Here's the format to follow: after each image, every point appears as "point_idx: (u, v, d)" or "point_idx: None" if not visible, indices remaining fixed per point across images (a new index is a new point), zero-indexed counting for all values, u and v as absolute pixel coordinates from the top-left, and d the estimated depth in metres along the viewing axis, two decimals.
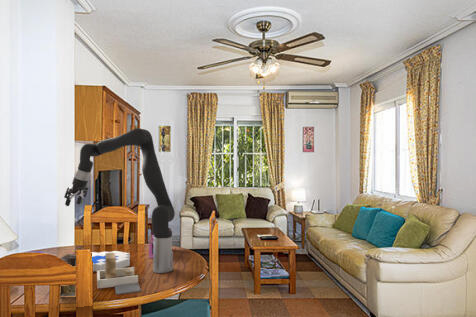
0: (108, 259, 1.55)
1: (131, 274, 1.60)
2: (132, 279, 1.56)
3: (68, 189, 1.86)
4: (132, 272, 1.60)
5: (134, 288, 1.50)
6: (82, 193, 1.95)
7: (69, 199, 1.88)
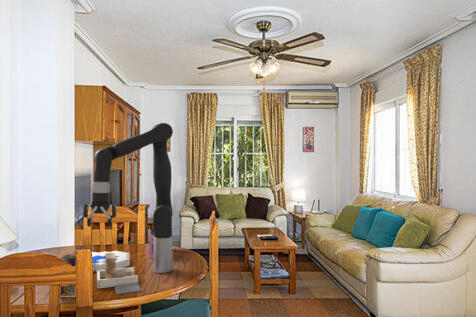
0: (108, 259, 1.55)
1: (131, 274, 1.60)
2: (132, 279, 1.56)
3: (115, 206, 1.62)
4: (132, 272, 1.60)
5: (134, 288, 1.50)
6: None
7: None
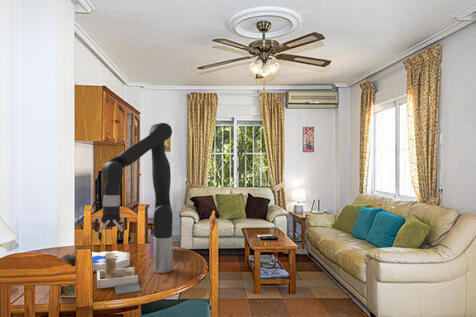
0: (108, 259, 1.55)
1: (131, 274, 1.60)
2: (132, 279, 1.56)
3: (126, 218, 1.62)
4: (132, 272, 1.60)
5: (134, 288, 1.50)
6: None
7: None
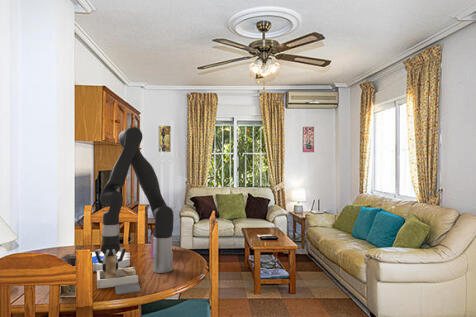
0: (108, 259, 1.55)
1: (133, 274, 1.60)
2: (132, 279, 1.56)
3: None
4: (134, 272, 1.61)
5: (134, 288, 1.50)
6: None
7: None
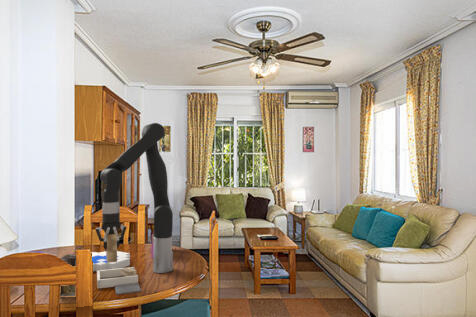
0: (109, 236, 1.55)
1: (134, 274, 1.61)
2: (132, 279, 1.56)
3: None
4: (135, 272, 1.61)
5: (134, 288, 1.50)
6: None
7: None
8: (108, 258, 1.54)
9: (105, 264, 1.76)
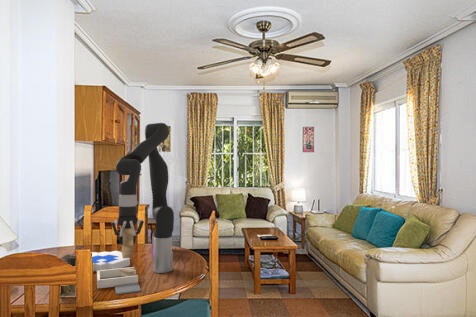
0: (125, 230, 1.46)
1: (133, 273, 1.61)
2: (132, 279, 1.56)
3: (143, 222, 1.53)
4: (134, 271, 1.61)
5: (134, 288, 1.50)
6: None
7: None
8: (124, 254, 1.45)
9: (105, 264, 1.76)
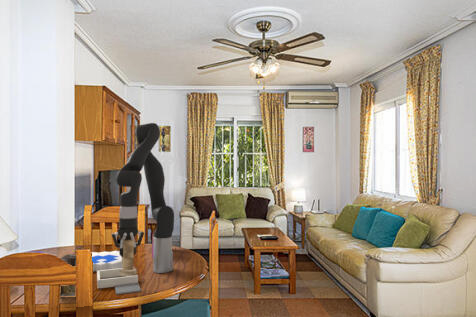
0: (126, 242, 1.45)
1: (135, 273, 1.62)
2: (132, 279, 1.56)
3: None
4: (135, 271, 1.62)
5: (134, 288, 1.50)
6: None
7: None
8: (124, 266, 1.45)
9: (105, 264, 1.76)
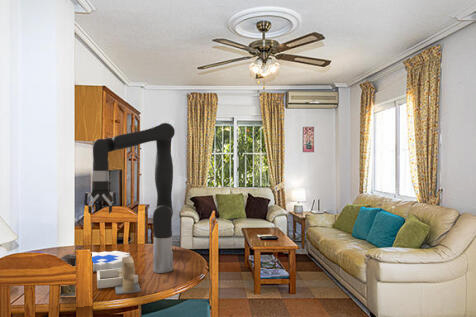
0: (126, 264, 1.45)
1: None
2: None
3: None
4: None
5: (134, 288, 1.50)
6: None
7: None
8: (124, 287, 1.45)
9: (105, 264, 1.76)
